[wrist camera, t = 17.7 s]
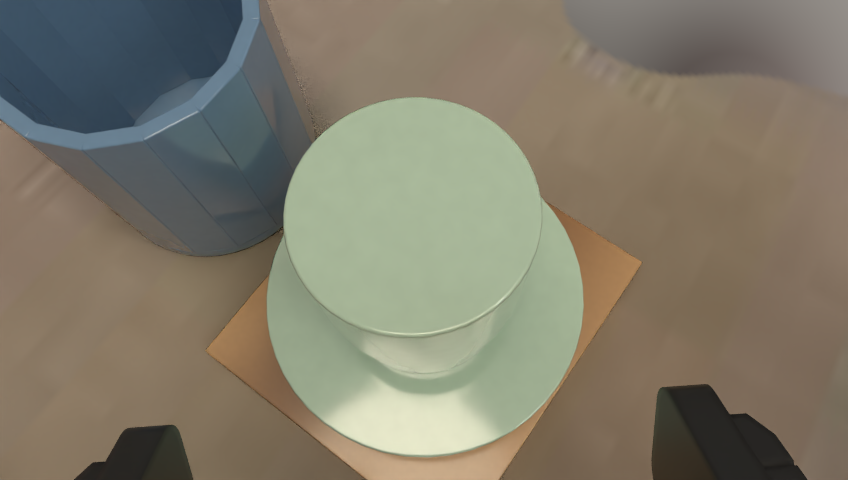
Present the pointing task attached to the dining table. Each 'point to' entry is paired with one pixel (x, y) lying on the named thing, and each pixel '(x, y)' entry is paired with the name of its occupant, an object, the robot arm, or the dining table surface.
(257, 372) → the cork mat
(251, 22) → the blue cup
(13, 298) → the dining table surface
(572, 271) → the pale green top hat
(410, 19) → the dining table surface
